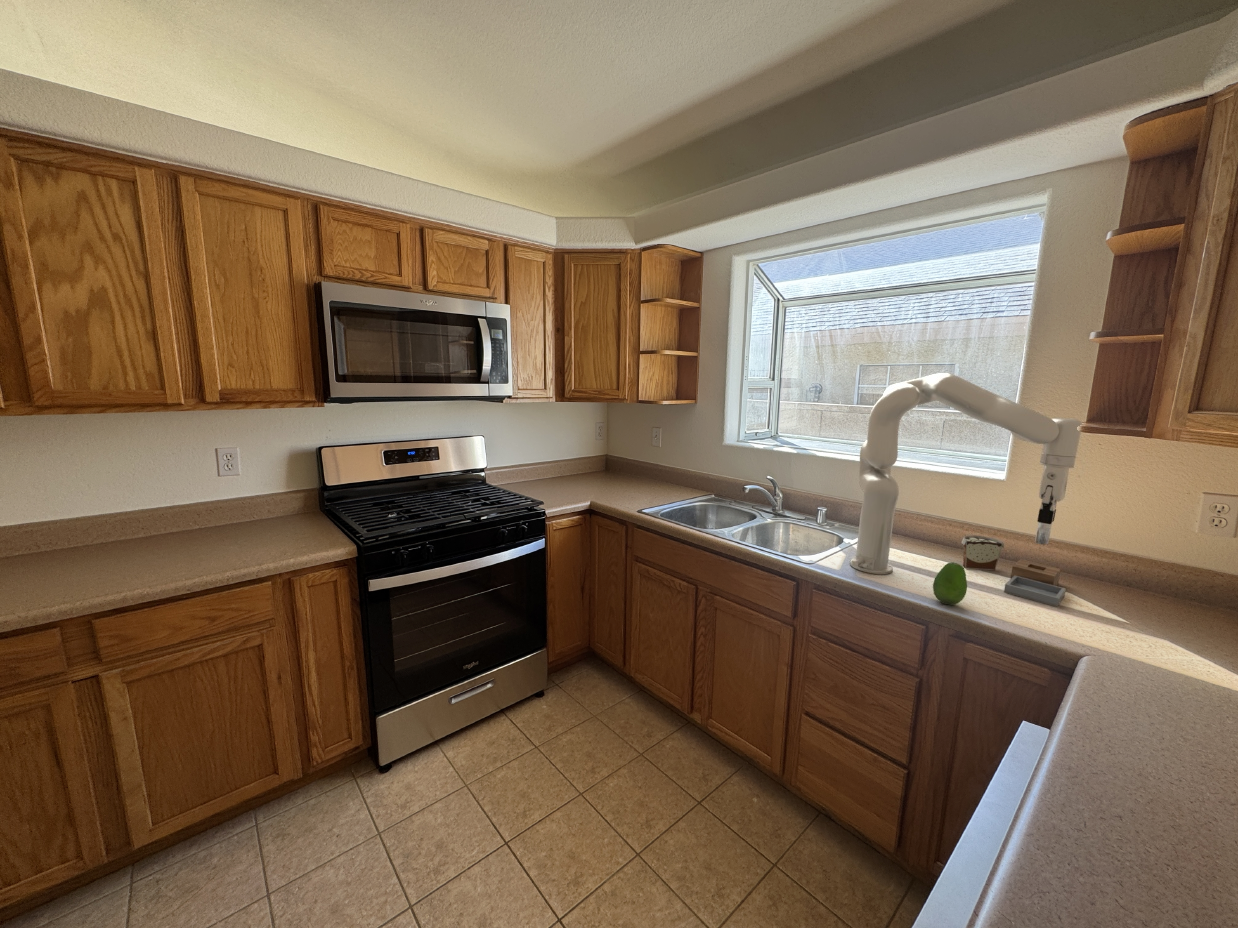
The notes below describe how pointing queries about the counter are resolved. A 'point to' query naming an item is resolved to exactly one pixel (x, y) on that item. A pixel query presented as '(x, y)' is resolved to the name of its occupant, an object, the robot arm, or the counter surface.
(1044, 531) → the pin
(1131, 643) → the counter surface
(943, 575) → the avocado
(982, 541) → the food container
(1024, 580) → the tray
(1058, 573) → the pin block
